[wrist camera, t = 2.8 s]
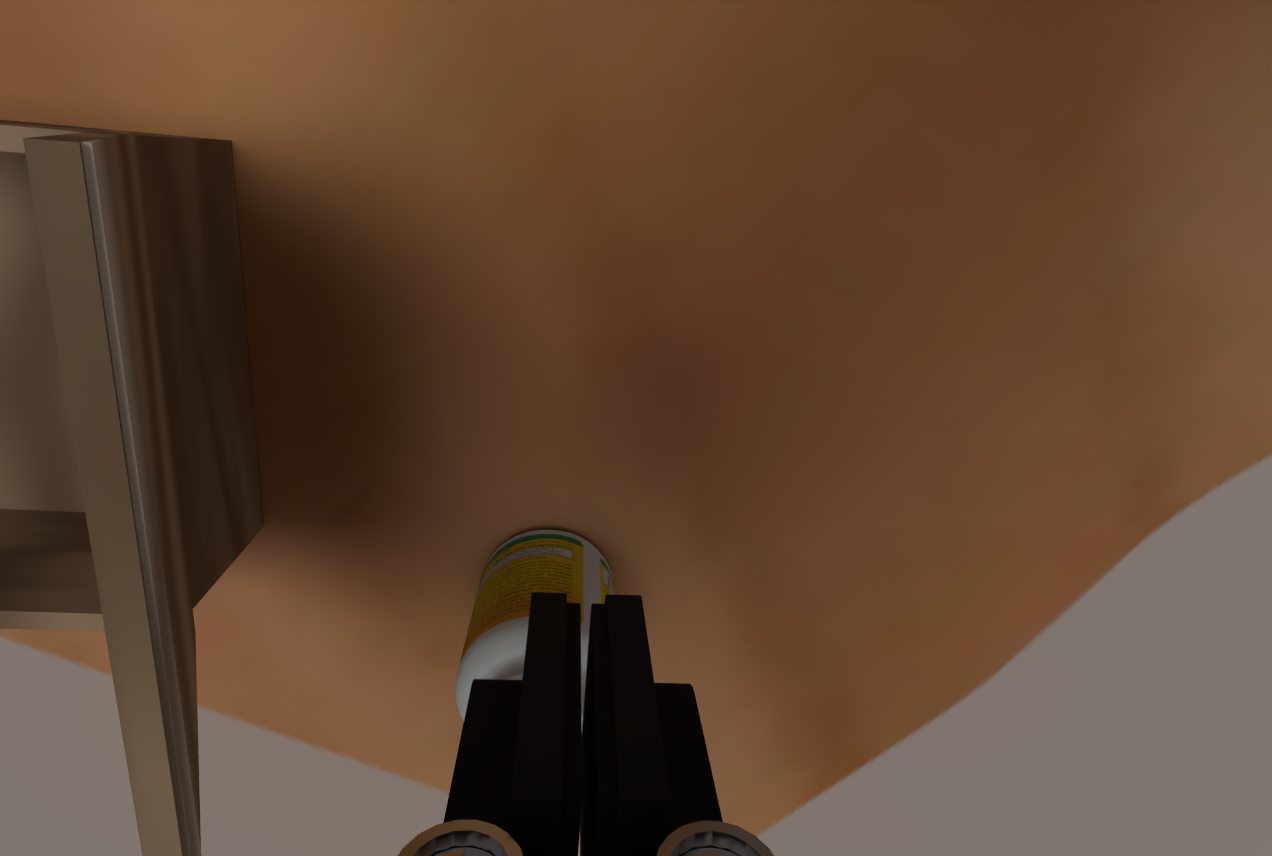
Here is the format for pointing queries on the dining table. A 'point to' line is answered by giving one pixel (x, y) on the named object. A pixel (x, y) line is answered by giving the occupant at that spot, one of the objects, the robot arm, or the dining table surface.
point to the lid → (124, 463)
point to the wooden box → (193, 371)
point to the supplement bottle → (527, 603)
